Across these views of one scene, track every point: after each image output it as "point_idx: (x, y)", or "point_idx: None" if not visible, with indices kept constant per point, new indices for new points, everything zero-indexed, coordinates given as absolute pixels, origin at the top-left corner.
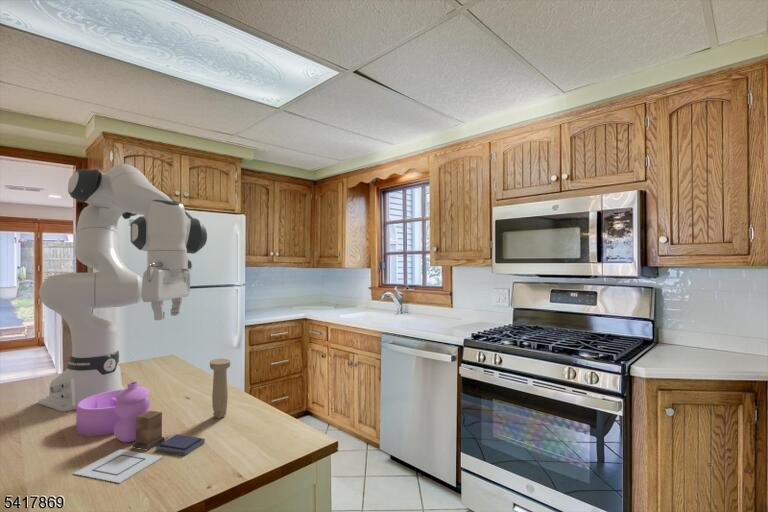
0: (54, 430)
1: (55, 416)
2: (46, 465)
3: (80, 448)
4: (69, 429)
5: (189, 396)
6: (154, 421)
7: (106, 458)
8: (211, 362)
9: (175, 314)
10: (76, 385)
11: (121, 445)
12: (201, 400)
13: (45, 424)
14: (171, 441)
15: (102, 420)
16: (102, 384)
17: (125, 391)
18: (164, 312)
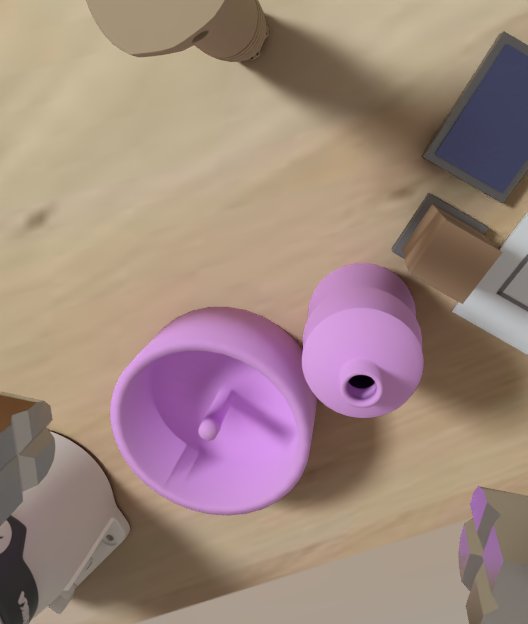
0: None
1: (158, 533)
2: (481, 451)
3: (398, 412)
4: None
5: (24, 217)
6: (473, 233)
7: (507, 326)
8: (181, 33)
9: (43, 422)
10: (77, 562)
11: None
12: (67, 159)
13: (209, 536)
14: (495, 155)
15: (313, 413)
16: (48, 502)
17: (387, 395)
18: (510, 554)
